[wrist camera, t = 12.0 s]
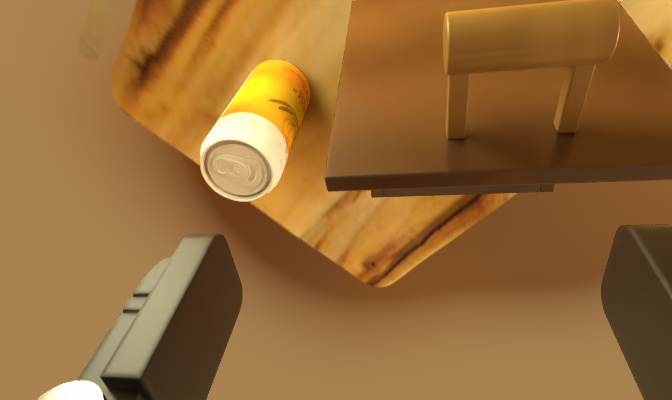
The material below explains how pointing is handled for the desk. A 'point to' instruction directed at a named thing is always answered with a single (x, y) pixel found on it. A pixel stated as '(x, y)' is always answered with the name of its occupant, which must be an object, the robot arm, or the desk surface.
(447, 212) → the desk surface
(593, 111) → the lid
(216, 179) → the beer can
